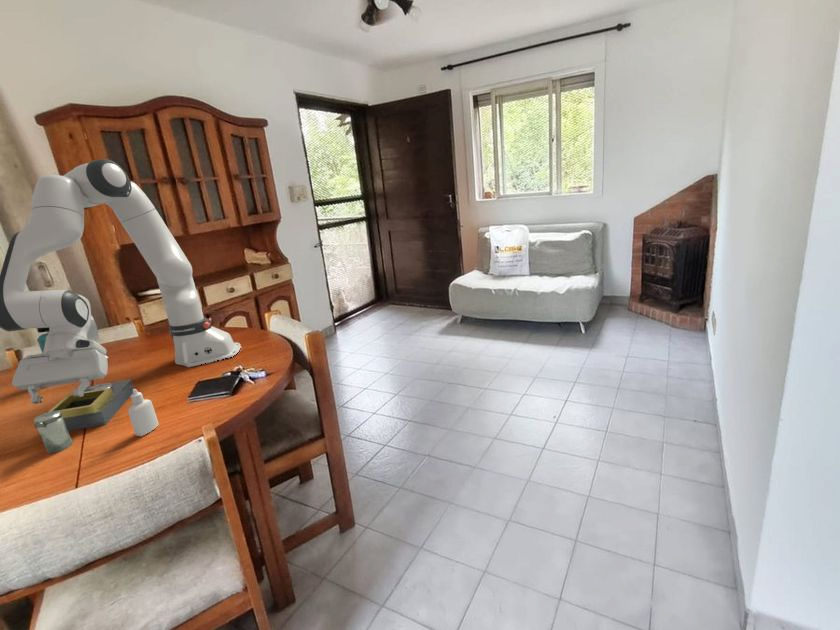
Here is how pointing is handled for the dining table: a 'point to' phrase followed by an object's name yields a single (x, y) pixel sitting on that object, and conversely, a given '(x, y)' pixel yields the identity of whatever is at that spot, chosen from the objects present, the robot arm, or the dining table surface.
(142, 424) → the eye dropper bottle
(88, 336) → the white angular piece
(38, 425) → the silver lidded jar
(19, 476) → the dining table surface
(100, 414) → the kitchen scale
